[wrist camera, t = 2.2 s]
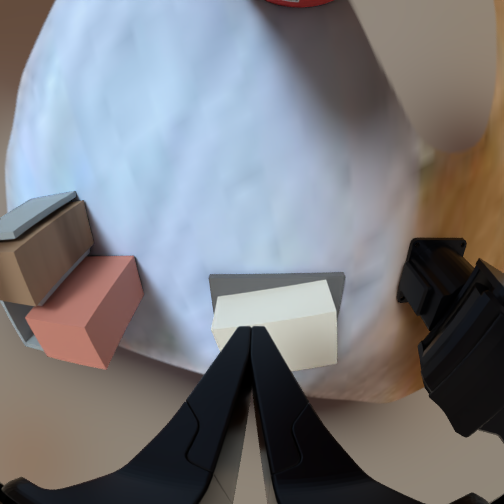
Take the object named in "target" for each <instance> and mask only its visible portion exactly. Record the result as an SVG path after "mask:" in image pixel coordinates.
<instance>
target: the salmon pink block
mask: <svg viewBox="0 0 504 504" xmlns="http://www.w3.org/2000/svg"><path fill="white" fill-rule="evenodd" d="M143 296H144V292H143V289H142V285H141V281H140V278H139V274H138V270H137V266H136V262H135V258H134V256H86V257H85V258H84V259H83V260H82V261H81V262H80V263H79V264H78V266H77V267H76V268H75V269H74V270H73V271H72V272H71V273H70V274H69V275H68V276H67V278H66V279H65V280H64V281H63V282H62V283H61V284H60V285H59V287H58V288H57V289H56V290H55V291H54V292H53V294H52V295H51V296H50V297H49V298H48V299H47V301H46V302H45V303H44V304H43V305H42V306H38V305H37V306H34V307H33V308H32V310H31V311H30V312H29V313H28V314H27V316H26V317H25V319H26V321H27V322H28V324H29V326H30V328H31V330H32V331H33V333H34V335H35V337H36V338H37V340H38V342H39V343H40V345H41V347H42V348H43V350H44V352H45V353H46V355H47V356H48V357H51V358H56V359H60V360H64V361H68V362H72V363H76V364H80V365H85V366H90V367H95V368H100V369H107V367H108V365H109V363H110V361H111V359H112V357H113V355H114V353H115V350H116V348H117V346H118V344H119V342H120V340H121V338H122V336H123V334H124V332H125V330H126V328H127V326H128V324H129V322H130V320H131V318H132V316H133V314H134V313H135V311H136V309H137V307H138V305H139V303H140V301H141V299H142V297H143Z"/></svg>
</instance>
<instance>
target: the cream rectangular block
mask: <svg viewBox="0 0 504 504" xmlns="http://www.w3.org/2000/svg"><path fill="white" fill-rule="evenodd" d="M239 326H251V328H252V327H253V326H265V327H266V329H267V331H268V332H269V334H270V336H271V338H272V339H273V341H274V343H275V344H276V346H277V348H278V350H279V351H280V353H281V355H282V357H283V358H284V360H285V362H286V363H287V365H288V367H289V369H290V370H291V371H298V370H304V369H310V368H316V367H322V366H328V365H333V364H337V314H336V308H335V305H334V302H333V299H332V296H331V293H330V290H329V287H328V284H327V281H326V280H320V281H314V282H309V283H303V284H297V285H291V286H285V287H279V288H272V289H266V290H260V291H253V292H247V293H240V294H233V295H226V296H219V297H218V298H217V303H216V308H215V312H214V317H213V322H212V327H211V331H212V333H213V336H214V338H215V340H216V343H217V345H218V347H219V350H220V352H221V350H222V349H223V347H224V346H225V345H226V343H227V342H228V340H229V339H230V337H231V336H232V335H233V333H234V332H235V330H236V329H237V327H239Z"/></svg>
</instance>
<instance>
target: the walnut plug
mask: <svg viewBox="0 0 504 504" xmlns="http://www.w3.org/2000/svg"><path fill="white" fill-rule="evenodd" d="M93 244H94V241H93V237H92V233H91V229H90V225H89V221H88V217H87V213H86V208H85V204H84V200H82V201H75V202H67V203H65V204H64V205H62V206H61V207H59V208H58V209H56V210H55V211H53V212H52V213H50V214H49V215H47V216H46V217H44V218H43V219H41V220H40V221H39V222H37V223H36V224H34V225H33V226H32V227H30V228H29V229H27V230H26V231H25V232H23V233H22V234H21V235H19V236H18V237H17V238H15V239H5V240H0V300H1V301H6V302H12V303H18V304H24V305H30V306H37V305H38V304H39V303H40V301H41V300H42V299H43V298H44V297H45V296H46V294H47V293H48V292H49V291H50V290H51V289H52V288H53V286H54V285H55V284H56V283H57V282H58V281H59V280H60V279H61V278H62V276H63V275H64V274H65V273H66V272H67V271H68V270H69V269H70V268H71V267H72V266H73V265H74V264H75V263H76V262H77V261H78V259H79V258H80V257H81V256H82V255H83V254H84V253H85V252H86V251H87V250H88V249H89V248H90V247H91V246H92V245H93Z"/></svg>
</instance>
